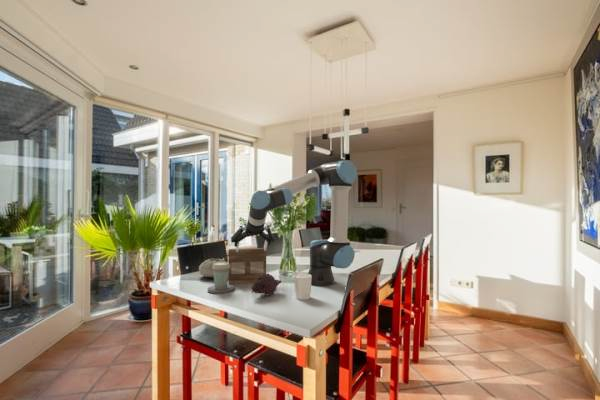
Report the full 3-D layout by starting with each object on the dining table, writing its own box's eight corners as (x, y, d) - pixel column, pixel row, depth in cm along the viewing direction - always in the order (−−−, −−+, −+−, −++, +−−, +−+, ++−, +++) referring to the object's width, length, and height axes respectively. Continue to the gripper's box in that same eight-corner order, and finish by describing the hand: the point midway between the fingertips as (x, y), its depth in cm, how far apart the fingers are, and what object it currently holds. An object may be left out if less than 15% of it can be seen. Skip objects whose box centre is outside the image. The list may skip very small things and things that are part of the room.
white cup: (294, 294, 140) (294, 273, 140) (311, 295, 140) (311, 273, 140) (293, 300, 132) (294, 277, 133) (311, 300, 132) (311, 278, 132)
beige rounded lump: (233, 273, 182) (233, 256, 182) (226, 281, 164) (227, 262, 164) (204, 273, 182) (204, 256, 182) (194, 280, 164) (194, 262, 164)
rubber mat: (239, 290, 147) (239, 288, 147) (215, 295, 138) (215, 293, 138) (226, 284, 156) (226, 282, 156) (202, 289, 148) (202, 287, 148)
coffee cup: (225, 291, 142) (225, 265, 142) (208, 289, 144) (209, 264, 144) (232, 286, 150) (233, 262, 151) (217, 285, 152) (217, 261, 152)
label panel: (228, 281, 163) (228, 248, 163) (265, 279, 167) (265, 247, 167) (228, 284, 157) (228, 250, 157) (266, 282, 161) (266, 249, 161)
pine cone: (258, 302, 129) (258, 279, 129) (243, 297, 136) (243, 275, 136) (285, 293, 143) (286, 272, 143) (271, 289, 149) (271, 269, 149)
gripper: (228, 227, 126) (225, 256, 140) (285, 226, 134) (277, 254, 148) (227, 214, 131) (224, 243, 145) (282, 214, 139) (274, 242, 153)
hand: (251, 249), depth 147 cm, fingers open, 13 cm apart
